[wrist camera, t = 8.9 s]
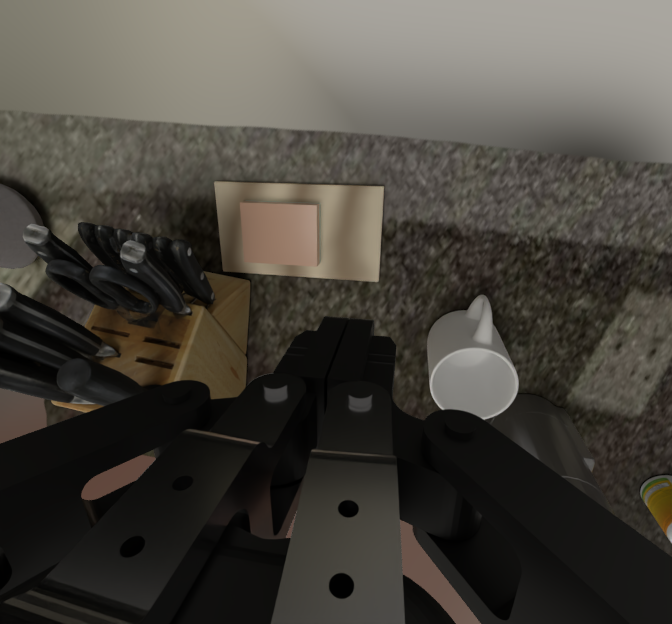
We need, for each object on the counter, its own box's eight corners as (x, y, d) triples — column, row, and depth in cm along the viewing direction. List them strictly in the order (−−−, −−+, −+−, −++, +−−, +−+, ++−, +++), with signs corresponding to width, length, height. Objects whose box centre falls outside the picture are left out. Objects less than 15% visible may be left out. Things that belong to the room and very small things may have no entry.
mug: (516, 289, 46) (544, 327, 37) (486, 375, 51) (503, 429, 41) (443, 275, 47) (450, 308, 38) (419, 361, 52) (421, 410, 42)
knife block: (260, 206, 48) (44, 287, 20) (245, 434, 62) (106, 669, 34) (173, 191, 49) (-144, 246, 21) (178, 417, 63) (-9, 631, 35)
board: (384, 186, 45) (383, 186, 44) (379, 279, 49) (378, 281, 48) (218, 181, 48) (214, 181, 47) (226, 269, 52) (223, 271, 51)
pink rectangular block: (316, 205, 44) (239, 202, 45) (316, 266, 47) (244, 262, 48) (320, 203, 46) (246, 200, 47) (320, 262, 48) (250, 258, 50)
